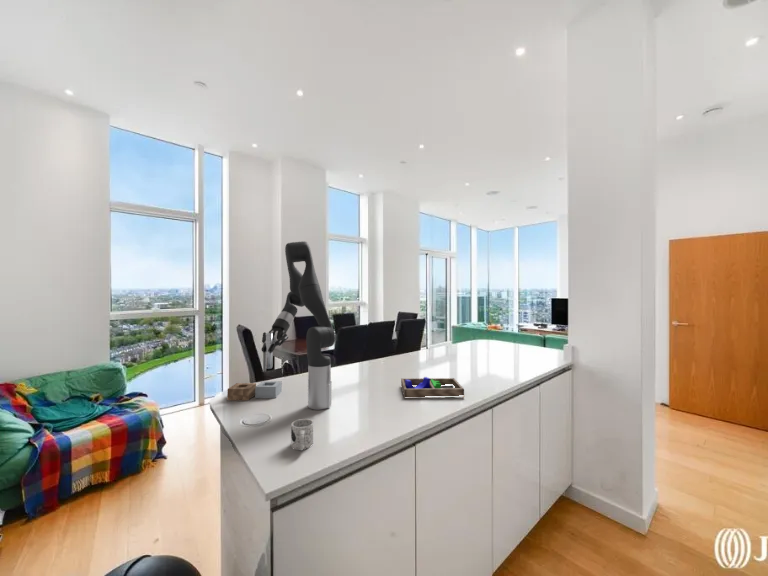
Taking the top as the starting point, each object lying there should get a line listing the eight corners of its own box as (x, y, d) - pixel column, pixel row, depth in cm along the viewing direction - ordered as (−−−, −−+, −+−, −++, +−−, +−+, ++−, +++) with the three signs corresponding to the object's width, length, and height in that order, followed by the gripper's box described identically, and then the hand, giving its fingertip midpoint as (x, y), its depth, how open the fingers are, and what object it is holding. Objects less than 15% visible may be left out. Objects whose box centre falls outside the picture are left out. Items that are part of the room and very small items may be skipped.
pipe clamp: (441, 395, 145) (441, 385, 145) (433, 395, 145) (433, 385, 145) (438, 388, 156) (438, 379, 156) (430, 388, 156) (430, 378, 157)
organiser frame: (454, 386, 159) (454, 378, 159) (464, 397, 141) (464, 389, 141) (401, 386, 159) (401, 378, 159) (404, 398, 141) (404, 389, 141)
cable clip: (424, 388, 155) (424, 376, 155) (429, 390, 151) (429, 378, 151) (403, 391, 149) (403, 379, 149) (408, 394, 145) (408, 381, 145)
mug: (291, 440, 100) (291, 419, 100) (313, 438, 101) (313, 418, 101) (289, 456, 90) (289, 433, 90) (313, 454, 92) (313, 431, 92)
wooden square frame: (256, 393, 146) (256, 383, 146) (248, 400, 137) (248, 388, 137) (236, 393, 146) (236, 383, 146) (227, 400, 137) (227, 389, 137)
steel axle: (273, 367, 147) (273, 333, 147) (271, 368, 144) (271, 334, 144) (266, 367, 147) (267, 333, 147) (264, 368, 144) (265, 333, 144)
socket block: (281, 391, 150) (281, 381, 150) (275, 397, 141) (275, 386, 141) (262, 391, 149) (262, 381, 149) (255, 398, 140) (255, 386, 140)
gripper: (267, 317, 155) (249, 345, 143) (292, 318, 150) (275, 347, 139) (274, 326, 160) (257, 355, 148) (298, 328, 155) (282, 357, 144)
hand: (266, 351), depth 143 cm, fingers closed on steel axle, 3 cm apart
